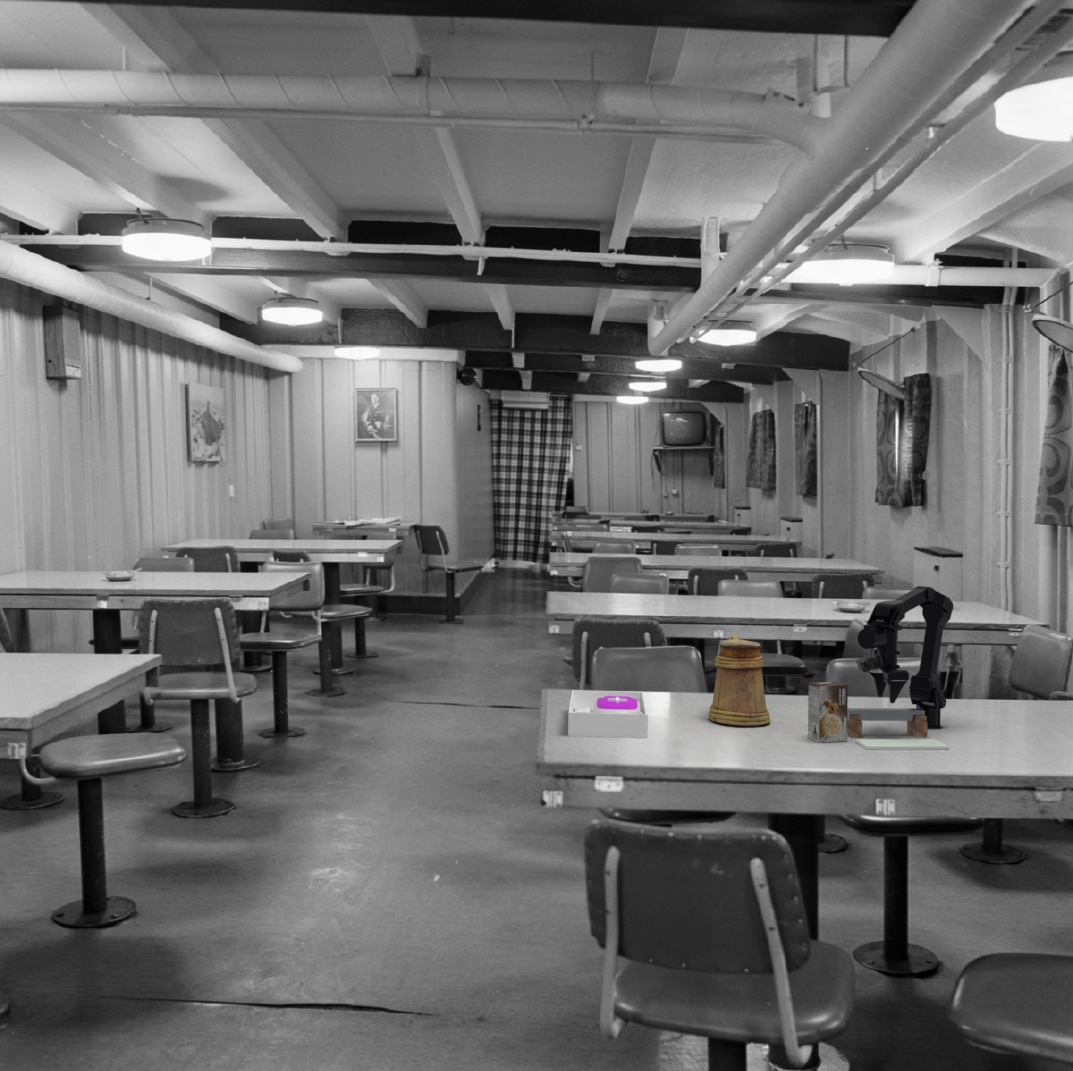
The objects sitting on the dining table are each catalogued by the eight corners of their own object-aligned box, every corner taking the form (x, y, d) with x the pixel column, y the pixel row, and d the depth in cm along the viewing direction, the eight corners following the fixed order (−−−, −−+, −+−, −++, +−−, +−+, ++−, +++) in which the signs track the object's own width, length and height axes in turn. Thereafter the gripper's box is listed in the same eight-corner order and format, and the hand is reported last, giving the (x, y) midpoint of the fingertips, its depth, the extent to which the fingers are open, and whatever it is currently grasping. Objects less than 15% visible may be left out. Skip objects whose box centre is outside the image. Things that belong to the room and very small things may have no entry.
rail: (920, 718, 305) (920, 708, 305) (924, 720, 302) (924, 710, 302) (846, 718, 303) (846, 708, 303) (849, 720, 300) (849, 710, 300)
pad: (934, 741, 295) (934, 739, 295) (948, 749, 286) (949, 746, 286) (854, 741, 294) (854, 738, 294) (866, 749, 285) (866, 746, 285)
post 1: (853, 732, 306) (853, 711, 306) (862, 737, 299) (862, 716, 299) (843, 732, 306) (843, 711, 305) (851, 737, 299) (852, 716, 298)
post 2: (916, 732, 307) (917, 712, 307) (927, 737, 300) (927, 717, 300) (906, 732, 307) (907, 712, 306) (916, 737, 300) (917, 717, 299)
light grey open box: (568, 737, 296) (568, 711, 296) (572, 712, 331) (572, 689, 331) (647, 739, 295) (647, 713, 295) (642, 714, 330) (643, 691, 329)
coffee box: (835, 736, 300) (836, 680, 299) (847, 741, 294) (849, 684, 293) (806, 738, 298) (808, 682, 297) (818, 743, 291) (819, 685, 291)
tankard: (716, 727, 309) (718, 643, 309) (700, 711, 333) (702, 633, 332) (776, 728, 310) (778, 644, 309) (756, 712, 334) (758, 634, 333)
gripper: (848, 641, 311) (847, 693, 311) (871, 651, 292) (870, 706, 293) (885, 641, 311) (883, 693, 312) (910, 651, 293) (909, 706, 293)
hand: (885, 699), depth 302 cm, fingers open, 9 cm apart
